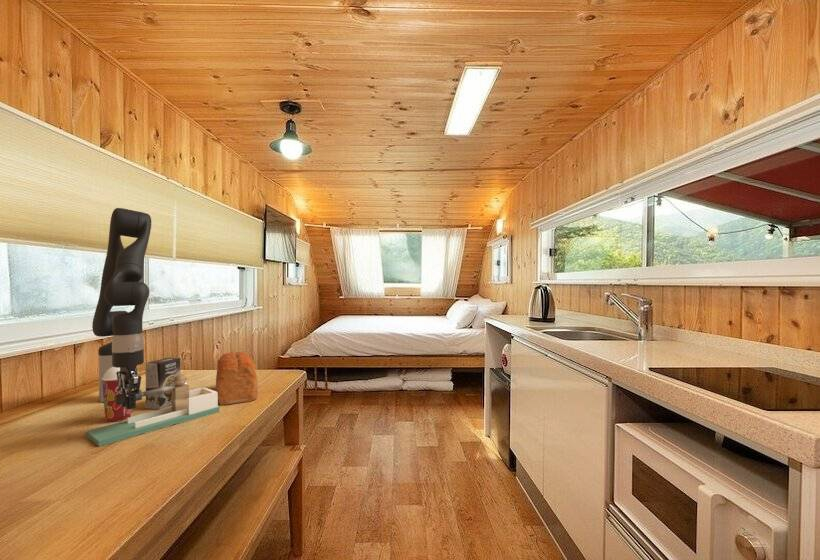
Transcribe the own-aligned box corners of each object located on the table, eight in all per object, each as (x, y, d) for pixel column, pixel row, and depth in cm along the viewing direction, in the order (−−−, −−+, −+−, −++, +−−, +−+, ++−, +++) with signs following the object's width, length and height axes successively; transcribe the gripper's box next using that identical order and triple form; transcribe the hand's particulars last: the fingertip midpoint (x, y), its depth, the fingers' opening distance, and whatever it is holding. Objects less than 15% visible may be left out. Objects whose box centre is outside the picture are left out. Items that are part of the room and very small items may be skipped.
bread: (252, 383, 160) (251, 348, 160) (259, 400, 137) (258, 359, 137) (215, 388, 154) (215, 351, 154) (216, 407, 130) (216, 364, 130)
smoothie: (141, 415, 123) (140, 355, 123) (113, 424, 115) (112, 360, 115) (123, 412, 125) (122, 353, 125) (95, 421, 118) (94, 358, 118)
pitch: (86, 436, 107) (86, 413, 107) (202, 404, 132) (202, 386, 132) (98, 446, 100) (98, 422, 100) (219, 411, 125) (219, 392, 125)
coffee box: (160, 409, 128) (159, 363, 128) (145, 408, 129) (144, 362, 129) (181, 401, 137) (181, 357, 137) (167, 400, 138) (166, 357, 138)
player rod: (114, 426, 109) (113, 386, 109) (184, 407, 124) (184, 372, 124) (118, 429, 106) (117, 388, 106) (189, 409, 122) (189, 373, 122)
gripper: (105, 348, 111) (106, 406, 111) (120, 353, 103) (121, 416, 103) (135, 345, 117) (135, 399, 117) (151, 349, 109) (152, 408, 109)
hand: (128, 407), depth 110 cm, fingers closed on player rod, 3 cm apart
